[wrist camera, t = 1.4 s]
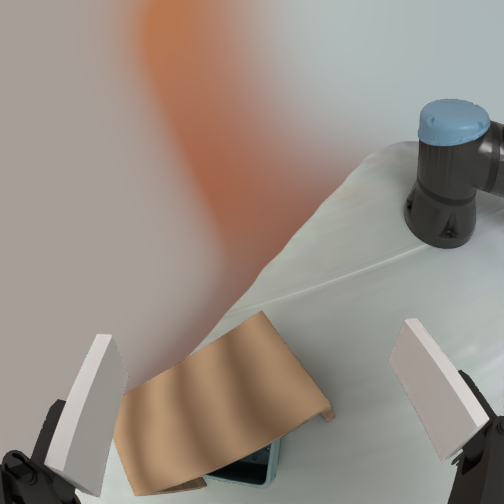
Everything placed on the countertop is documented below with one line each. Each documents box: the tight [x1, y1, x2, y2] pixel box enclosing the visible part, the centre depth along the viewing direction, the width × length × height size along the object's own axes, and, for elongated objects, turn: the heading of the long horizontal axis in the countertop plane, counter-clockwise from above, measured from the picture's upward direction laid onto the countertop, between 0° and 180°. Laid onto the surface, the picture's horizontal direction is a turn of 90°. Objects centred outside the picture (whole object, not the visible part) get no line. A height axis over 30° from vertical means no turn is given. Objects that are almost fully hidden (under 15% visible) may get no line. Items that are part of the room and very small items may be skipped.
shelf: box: [113, 311, 335, 496], centre depth 29 cm, size 22×12×14 cm, turn 119°
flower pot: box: [201, 438, 281, 488], centre depth 28 cm, size 9×9×9 cm
